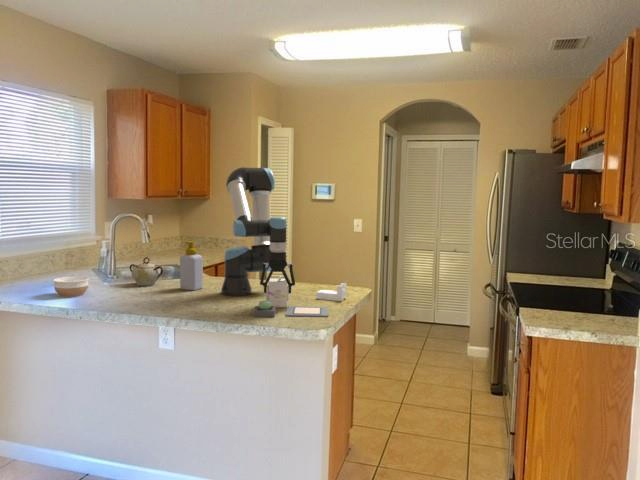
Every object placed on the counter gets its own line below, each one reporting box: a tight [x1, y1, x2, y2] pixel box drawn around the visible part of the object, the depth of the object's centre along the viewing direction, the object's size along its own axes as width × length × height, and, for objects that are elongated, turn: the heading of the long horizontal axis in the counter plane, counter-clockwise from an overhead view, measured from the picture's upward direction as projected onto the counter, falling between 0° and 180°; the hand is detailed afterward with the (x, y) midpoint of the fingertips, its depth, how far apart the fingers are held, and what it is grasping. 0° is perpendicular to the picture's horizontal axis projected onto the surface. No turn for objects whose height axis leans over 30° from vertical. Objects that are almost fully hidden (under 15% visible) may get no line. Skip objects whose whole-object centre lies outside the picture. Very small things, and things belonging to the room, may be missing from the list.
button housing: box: [252, 305, 277, 318], centre depth 227 cm, size 9×9×2 cm
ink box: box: [268, 274, 288, 308], centre depth 243 cm, size 9×8×13 cm
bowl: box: [52, 275, 90, 298], centre depth 259 cm, size 16×16×8 cm
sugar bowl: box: [129, 256, 164, 287], centre depth 288 cm, size 20×15×15 cm
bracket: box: [315, 283, 347, 302], centre depth 260 cm, size 13×7×8 cm, turn 70°
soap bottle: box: [179, 240, 204, 291], centre depth 277 cm, size 9×9×25 cm
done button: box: [258, 300, 271, 310], centre depth 226 cm, size 5×5×3 cm
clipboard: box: [285, 305, 329, 318], centre depth 232 cm, size 18×16×1 cm
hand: (277, 300), depth 243 cm, fingers closed on ink box, 9 cm apart
